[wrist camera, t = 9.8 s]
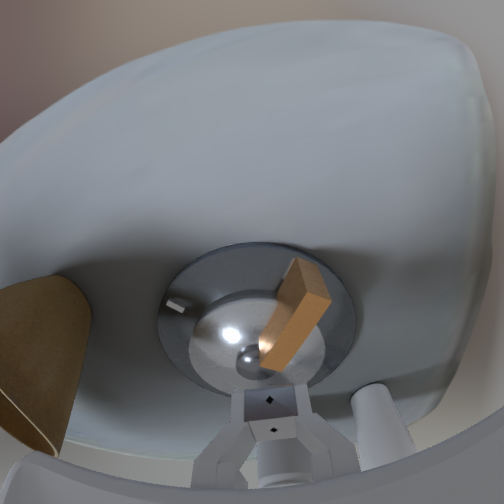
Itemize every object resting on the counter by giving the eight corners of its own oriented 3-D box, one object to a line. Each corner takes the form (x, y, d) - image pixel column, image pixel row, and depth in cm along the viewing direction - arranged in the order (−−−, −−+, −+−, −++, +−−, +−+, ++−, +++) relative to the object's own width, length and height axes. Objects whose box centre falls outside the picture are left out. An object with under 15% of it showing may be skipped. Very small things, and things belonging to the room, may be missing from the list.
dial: (284, 393, 28) (287, 432, 23) (179, 363, 26) (168, 402, 21) (366, 284, 22) (389, 321, 17) (233, 229, 20) (226, 261, 16)
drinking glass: (400, 379, 30) (438, 471, 16) (372, 409, 33) (397, 495, 19) (363, 374, 29) (397, 482, 15) (334, 406, 32) (354, 504, 18)
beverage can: (254, 399, 31) (254, 485, 20) (306, 394, 30) (319, 480, 20) (260, 423, 33) (260, 498, 22) (306, 419, 33) (315, 493, 22)
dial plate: (150, 365, 29) (147, 374, 27) (185, 210, 21) (180, 216, 20) (300, 402, 31) (302, 411, 30) (387, 281, 24) (393, 289, 22)
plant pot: (129, 274, 24) (37, 412, 9) (115, 368, 30) (69, 473, 15) (20, 220, 22) (-86, 293, 7) (25, 318, 27) (-36, 396, 13)
